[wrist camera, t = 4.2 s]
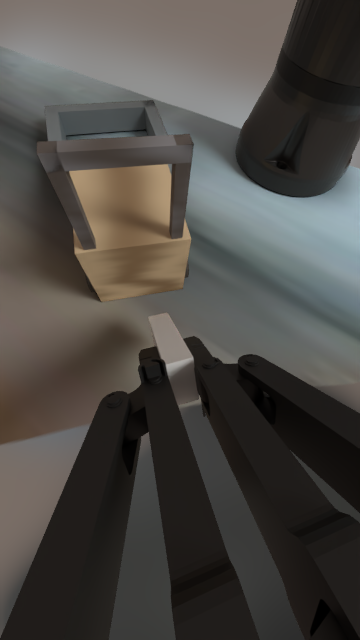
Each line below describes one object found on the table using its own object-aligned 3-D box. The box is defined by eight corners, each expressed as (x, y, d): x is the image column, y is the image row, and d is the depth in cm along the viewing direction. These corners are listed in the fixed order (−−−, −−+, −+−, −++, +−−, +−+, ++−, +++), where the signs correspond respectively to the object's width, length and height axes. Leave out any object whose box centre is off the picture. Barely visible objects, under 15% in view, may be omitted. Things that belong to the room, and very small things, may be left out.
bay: (153, 122, 32) (153, 100, 30) (180, 190, 27) (182, 170, 25) (53, 129, 30) (44, 106, 28) (62, 205, 25) (52, 184, 23)
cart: (164, 203, 27) (167, 32, 15) (188, 287, 22) (219, 146, 10) (86, 210, 25) (17, 29, 13) (95, 303, 21) (5, 158, 9)
